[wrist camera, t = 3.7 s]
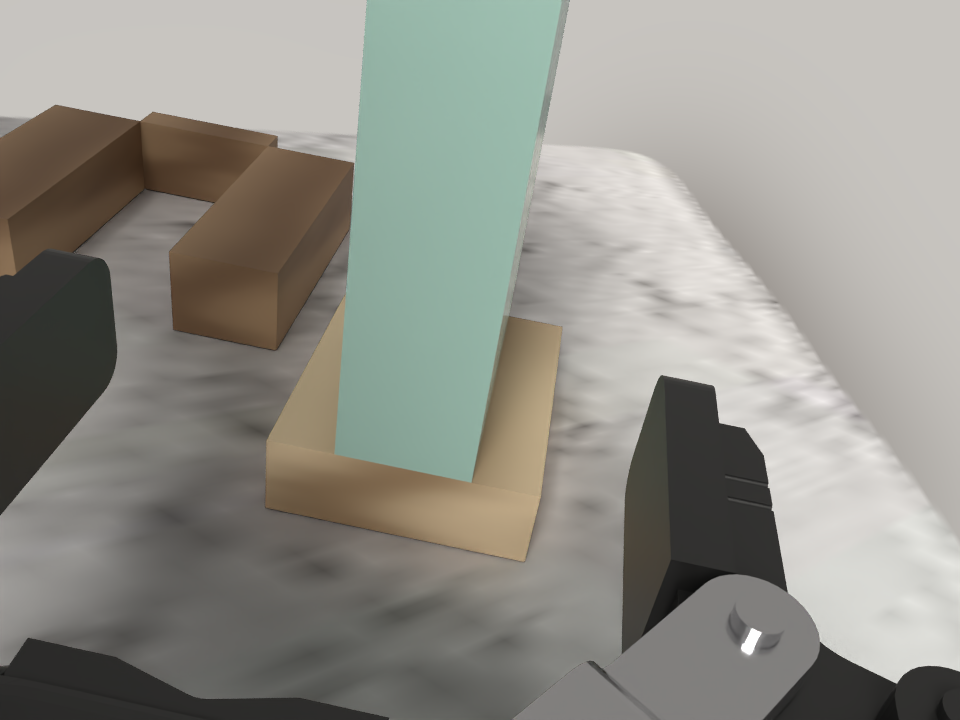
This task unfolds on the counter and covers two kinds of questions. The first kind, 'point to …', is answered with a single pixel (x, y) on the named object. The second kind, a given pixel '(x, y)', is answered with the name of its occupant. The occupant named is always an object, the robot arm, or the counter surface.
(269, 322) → the rack
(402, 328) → the teal block
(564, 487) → the counter surface
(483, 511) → the plinth
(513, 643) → the counter surface
